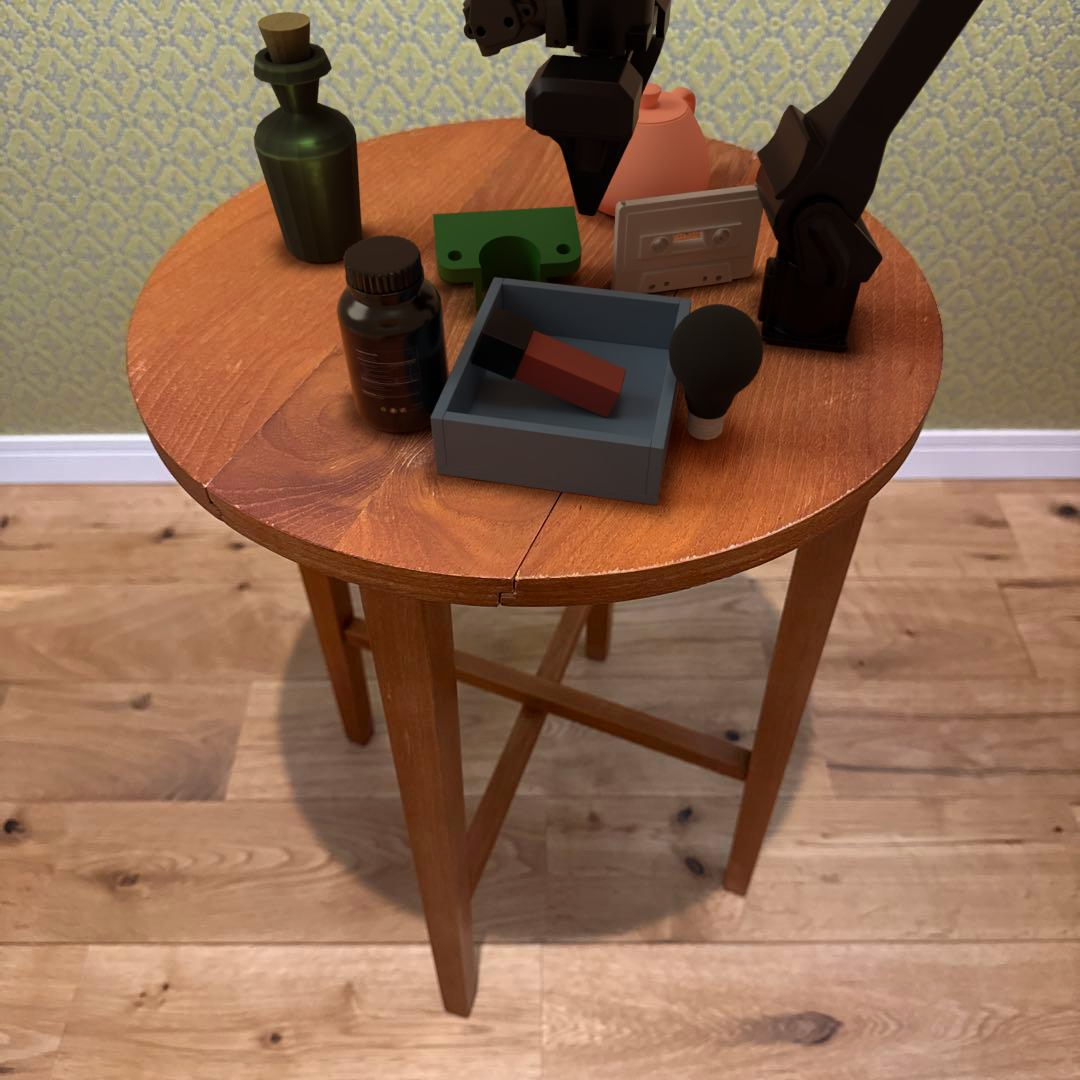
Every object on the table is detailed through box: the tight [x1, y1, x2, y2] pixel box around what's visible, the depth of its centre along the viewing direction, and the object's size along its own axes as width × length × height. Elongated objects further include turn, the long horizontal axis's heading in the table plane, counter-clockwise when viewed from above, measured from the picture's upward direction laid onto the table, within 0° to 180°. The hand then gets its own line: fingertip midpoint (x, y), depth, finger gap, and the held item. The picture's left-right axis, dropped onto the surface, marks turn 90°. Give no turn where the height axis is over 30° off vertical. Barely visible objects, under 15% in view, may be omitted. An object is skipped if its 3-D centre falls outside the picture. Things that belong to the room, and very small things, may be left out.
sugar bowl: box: [597, 81, 711, 217], centre depth 86 cm, size 12×14×10 cm
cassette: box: [610, 183, 764, 294], centre depth 77 cm, size 12×2×8 cm, turn 104°
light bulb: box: [669, 303, 764, 441], centre depth 63 cm, size 6×6×10 cm
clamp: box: [432, 205, 583, 311], centre depth 77 cm, size 12×6×9 cm, turn 90°
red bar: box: [471, 306, 626, 418], centre depth 66 cm, size 10×3×3 cm, turn 78°
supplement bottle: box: [336, 234, 450, 434], centre depth 64 cm, size 7×7×12 cm
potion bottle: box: [253, 11, 363, 264], centre depth 77 cm, size 8×8×18 cm
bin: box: [430, 277, 693, 506], centre depth 67 cm, size 15×17×5 cm
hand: (598, 182), depth 66 cm, fingers open, 9 cm apart
